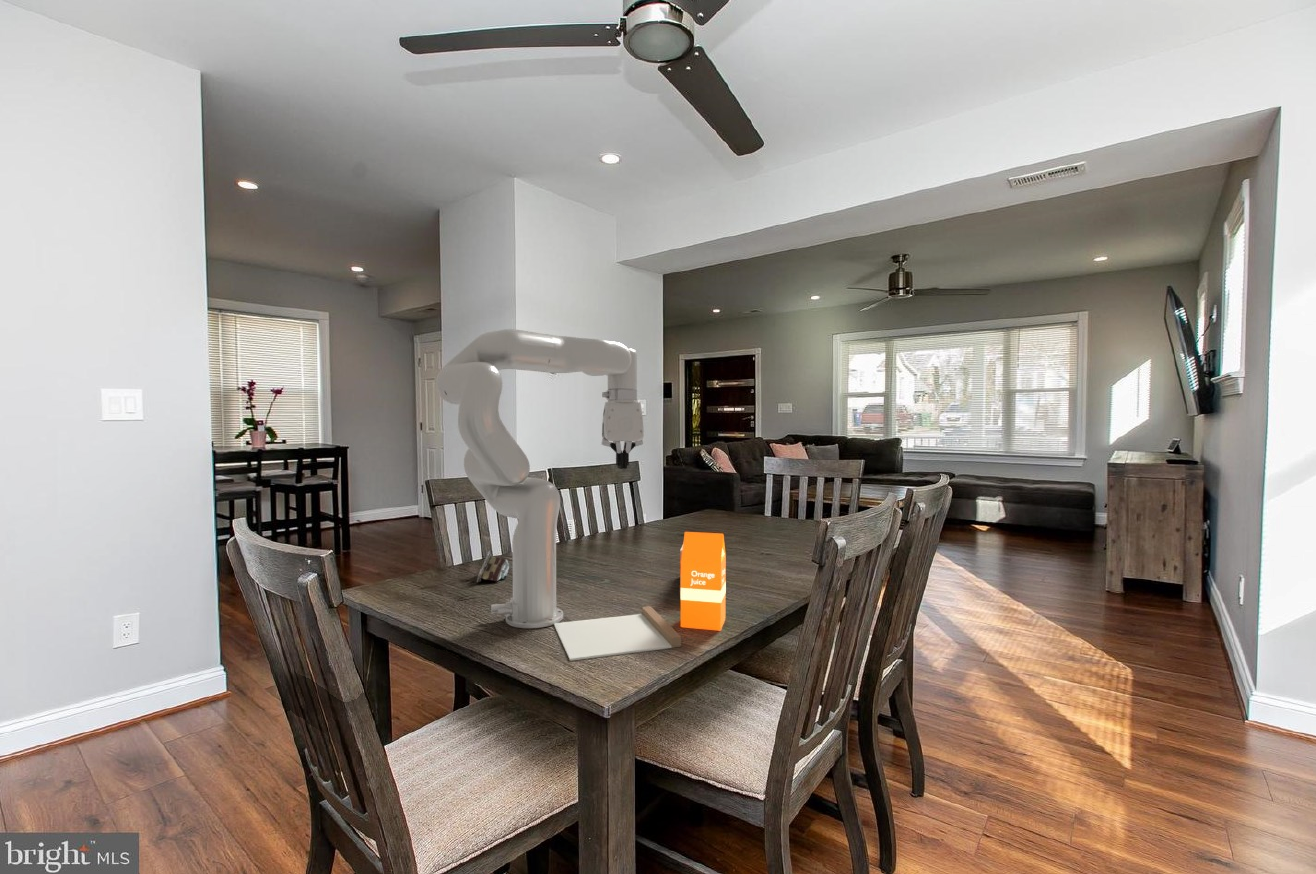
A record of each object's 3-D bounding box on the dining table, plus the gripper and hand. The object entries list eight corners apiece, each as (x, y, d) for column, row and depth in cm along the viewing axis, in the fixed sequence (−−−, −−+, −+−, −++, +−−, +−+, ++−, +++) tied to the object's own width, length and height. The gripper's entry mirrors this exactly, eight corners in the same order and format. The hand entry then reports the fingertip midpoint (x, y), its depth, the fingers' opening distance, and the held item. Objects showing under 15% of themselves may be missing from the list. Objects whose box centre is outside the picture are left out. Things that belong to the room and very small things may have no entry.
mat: (570, 660, 111) (570, 650, 111) (553, 625, 130) (553, 616, 130) (681, 646, 118) (681, 636, 118) (650, 614, 137) (650, 606, 137)
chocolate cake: (502, 584, 159) (515, 548, 168) (476, 578, 158) (490, 542, 167) (499, 602, 165) (511, 566, 174) (473, 596, 165) (487, 560, 173)
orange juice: (720, 631, 126) (721, 537, 126) (680, 627, 129) (680, 535, 128) (725, 618, 134) (726, 530, 133) (687, 615, 136) (687, 528, 136)
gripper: (596, 396, 147) (597, 470, 147) (654, 396, 151) (654, 469, 152) (590, 397, 154) (590, 468, 154) (645, 397, 158) (645, 466, 159)
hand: (622, 468), depth 153 cm, fingers closed
